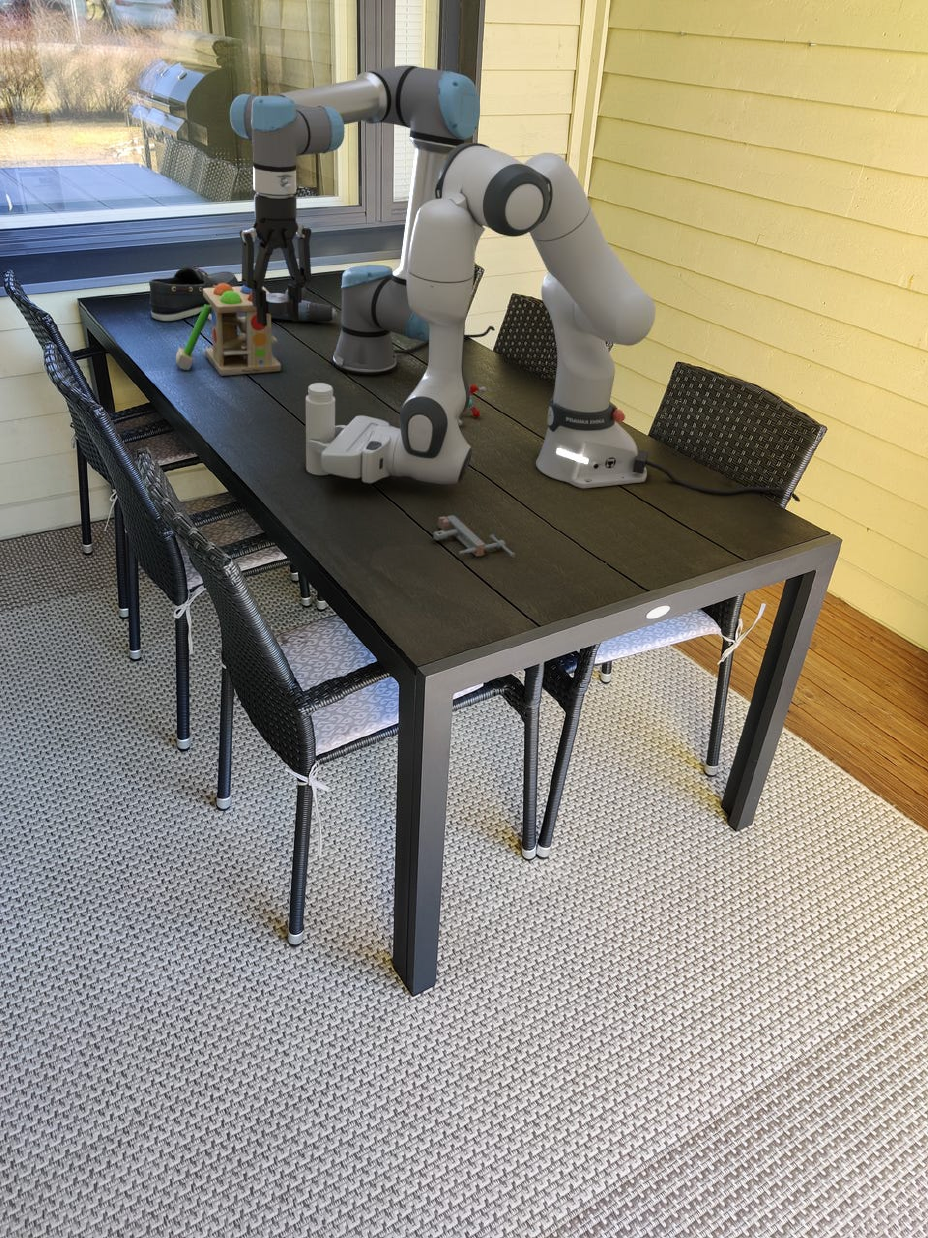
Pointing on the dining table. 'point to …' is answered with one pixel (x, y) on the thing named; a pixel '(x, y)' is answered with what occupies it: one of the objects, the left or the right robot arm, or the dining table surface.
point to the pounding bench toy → (232, 334)
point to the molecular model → (475, 412)
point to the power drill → (311, 310)
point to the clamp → (466, 537)
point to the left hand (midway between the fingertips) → (277, 321)
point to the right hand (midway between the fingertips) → (315, 436)
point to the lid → (279, 304)
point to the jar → (319, 423)
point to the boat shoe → (184, 292)
